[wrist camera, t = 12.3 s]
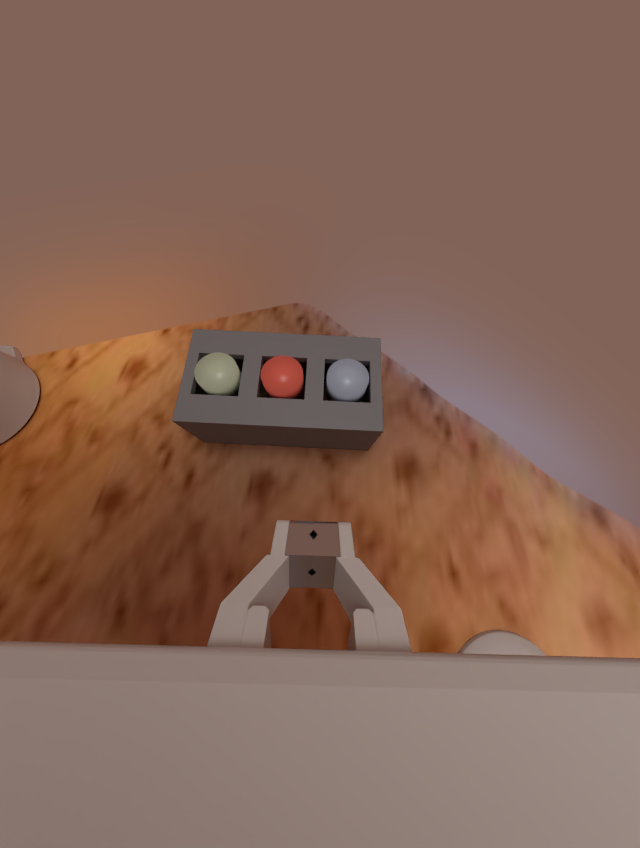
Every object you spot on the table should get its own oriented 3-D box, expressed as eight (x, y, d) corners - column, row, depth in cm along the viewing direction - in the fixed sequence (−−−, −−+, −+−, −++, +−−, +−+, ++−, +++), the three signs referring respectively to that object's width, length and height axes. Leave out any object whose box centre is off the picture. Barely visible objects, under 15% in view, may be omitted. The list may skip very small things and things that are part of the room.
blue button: (324, 407, 33) (326, 395, 30) (326, 372, 35) (327, 357, 31) (364, 409, 33) (369, 397, 30) (363, 374, 35) (368, 359, 31)
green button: (202, 401, 33) (190, 388, 30) (209, 367, 35) (198, 351, 31) (241, 403, 33) (233, 390, 30) (247, 368, 35) (239, 353, 31)
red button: (263, 404, 33) (258, 392, 30) (268, 369, 35) (263, 354, 31) (302, 406, 33) (301, 394, 30) (305, 371, 35) (304, 356, 31)
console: (204, 442, 38) (172, 421, 29) (218, 367, 42) (193, 329, 33) (367, 450, 38) (383, 431, 29) (367, 374, 42) (380, 338, 33)
